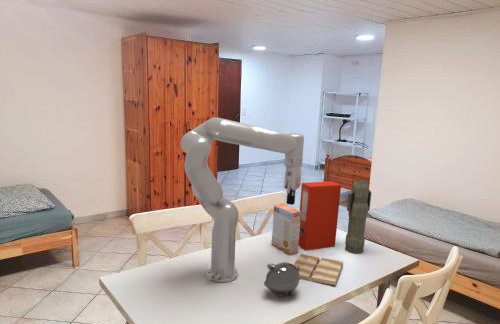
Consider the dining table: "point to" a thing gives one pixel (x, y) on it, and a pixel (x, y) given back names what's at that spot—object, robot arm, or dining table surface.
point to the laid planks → (307, 266)
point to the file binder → (319, 214)
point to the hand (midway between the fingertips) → (290, 203)
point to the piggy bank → (282, 278)
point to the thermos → (357, 216)
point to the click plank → (327, 271)
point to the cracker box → (286, 228)
